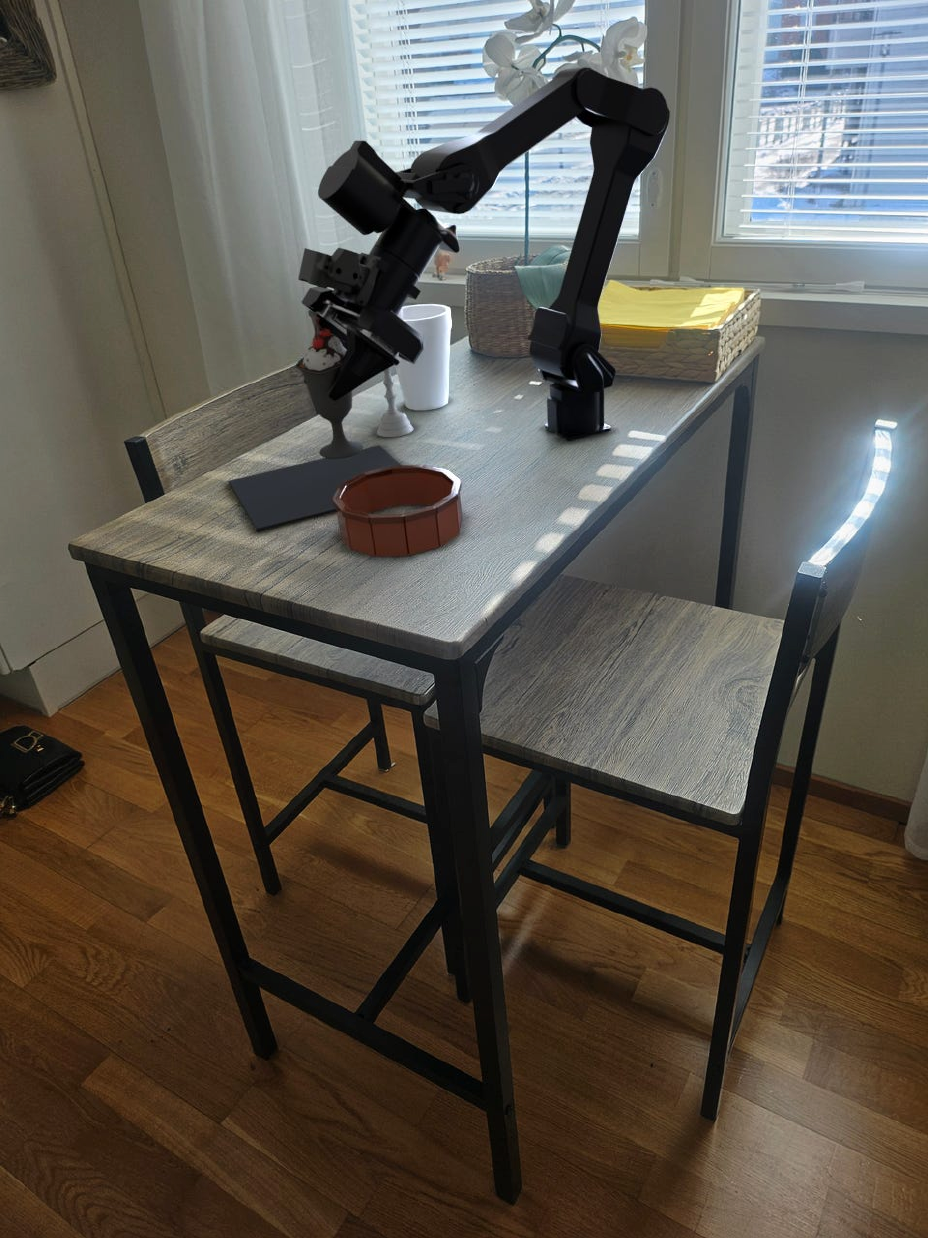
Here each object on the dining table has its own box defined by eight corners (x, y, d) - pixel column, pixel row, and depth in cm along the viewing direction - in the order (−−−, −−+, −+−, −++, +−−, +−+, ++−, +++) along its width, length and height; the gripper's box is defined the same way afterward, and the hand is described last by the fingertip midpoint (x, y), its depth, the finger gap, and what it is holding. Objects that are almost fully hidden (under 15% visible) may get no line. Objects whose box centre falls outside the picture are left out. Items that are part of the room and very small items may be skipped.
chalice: (412, 439, 117) (395, 299, 107) (363, 440, 118) (342, 301, 109) (425, 420, 123) (410, 286, 113) (378, 421, 124) (360, 288, 115)
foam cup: (457, 411, 125) (449, 317, 118) (393, 416, 126) (380, 323, 119) (458, 390, 133) (450, 301, 126) (398, 395, 134) (386, 307, 127)
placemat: (379, 447, 115) (379, 445, 115) (425, 489, 103) (424, 485, 102) (228, 483, 109) (228, 480, 109) (257, 532, 97) (256, 528, 96)
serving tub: (435, 492, 102) (431, 455, 99) (483, 535, 91) (480, 496, 89) (326, 520, 98) (319, 483, 95) (363, 569, 87) (357, 528, 85)
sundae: (333, 467, 94) (306, 325, 86) (301, 452, 99) (273, 316, 91) (382, 448, 98) (362, 309, 90) (349, 435, 102) (327, 302, 94)
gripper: (302, 206, 94) (228, 333, 96) (378, 220, 80) (290, 368, 82) (378, 270, 101) (308, 387, 103) (460, 293, 87) (377, 428, 89)
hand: (318, 391), depth 94 cm, fingers closed on sundae, 6 cm apart
